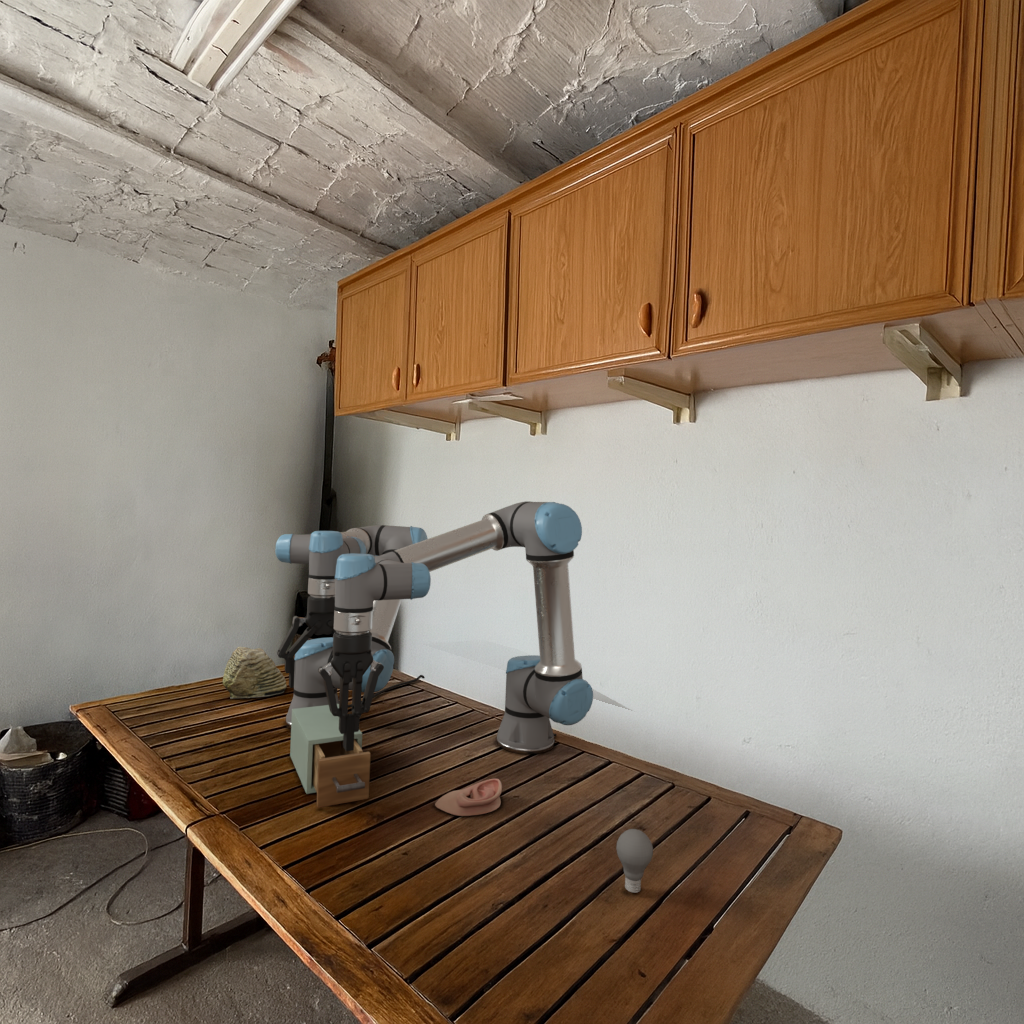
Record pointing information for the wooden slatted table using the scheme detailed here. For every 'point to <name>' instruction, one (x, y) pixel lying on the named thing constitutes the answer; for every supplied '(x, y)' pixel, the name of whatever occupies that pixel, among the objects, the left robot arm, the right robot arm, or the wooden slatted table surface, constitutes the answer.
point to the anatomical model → (472, 799)
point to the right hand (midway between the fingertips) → (348, 748)
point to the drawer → (340, 773)
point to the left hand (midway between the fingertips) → (320, 683)
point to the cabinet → (313, 738)
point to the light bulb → (634, 857)
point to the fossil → (252, 674)
